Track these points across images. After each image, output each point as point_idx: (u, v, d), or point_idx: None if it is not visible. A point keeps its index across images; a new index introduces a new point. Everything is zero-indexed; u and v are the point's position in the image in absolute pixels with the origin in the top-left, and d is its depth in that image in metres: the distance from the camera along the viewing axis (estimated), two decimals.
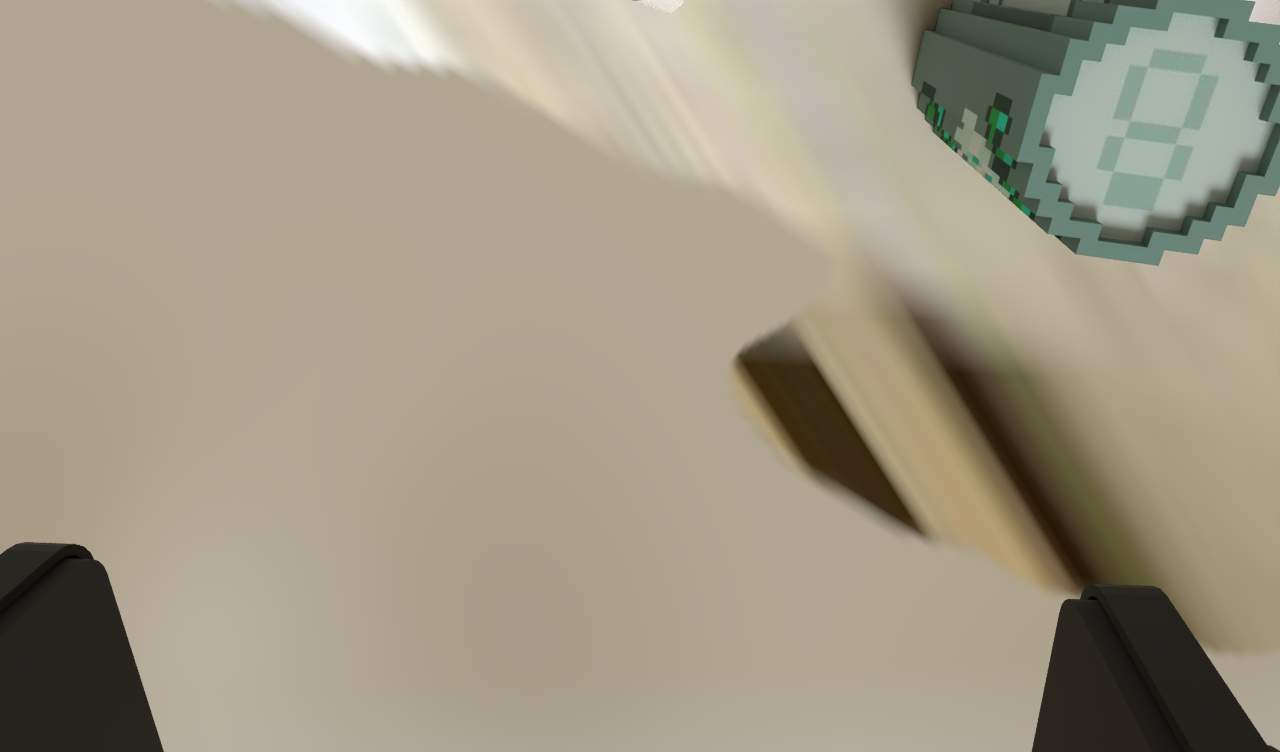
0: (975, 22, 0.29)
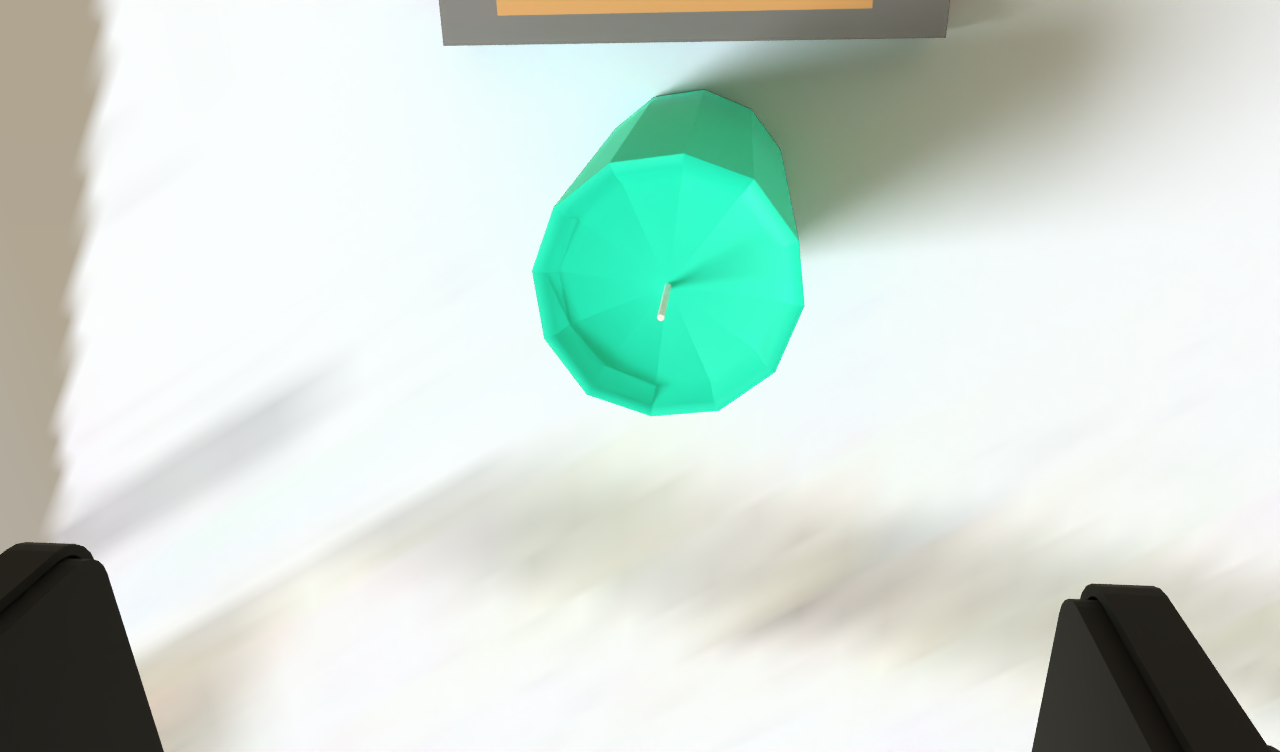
0: None
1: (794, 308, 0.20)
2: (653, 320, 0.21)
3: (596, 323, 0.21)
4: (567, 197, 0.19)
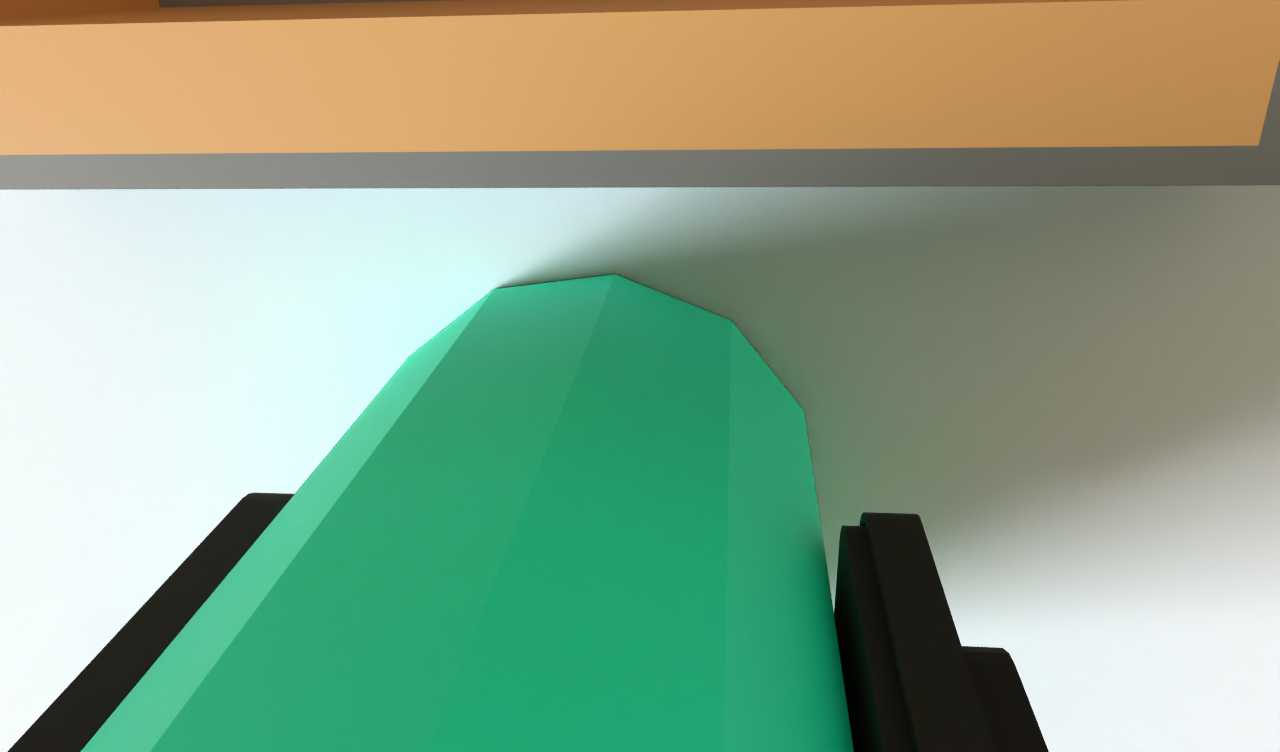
0: None
1: None
2: None
3: None
4: None
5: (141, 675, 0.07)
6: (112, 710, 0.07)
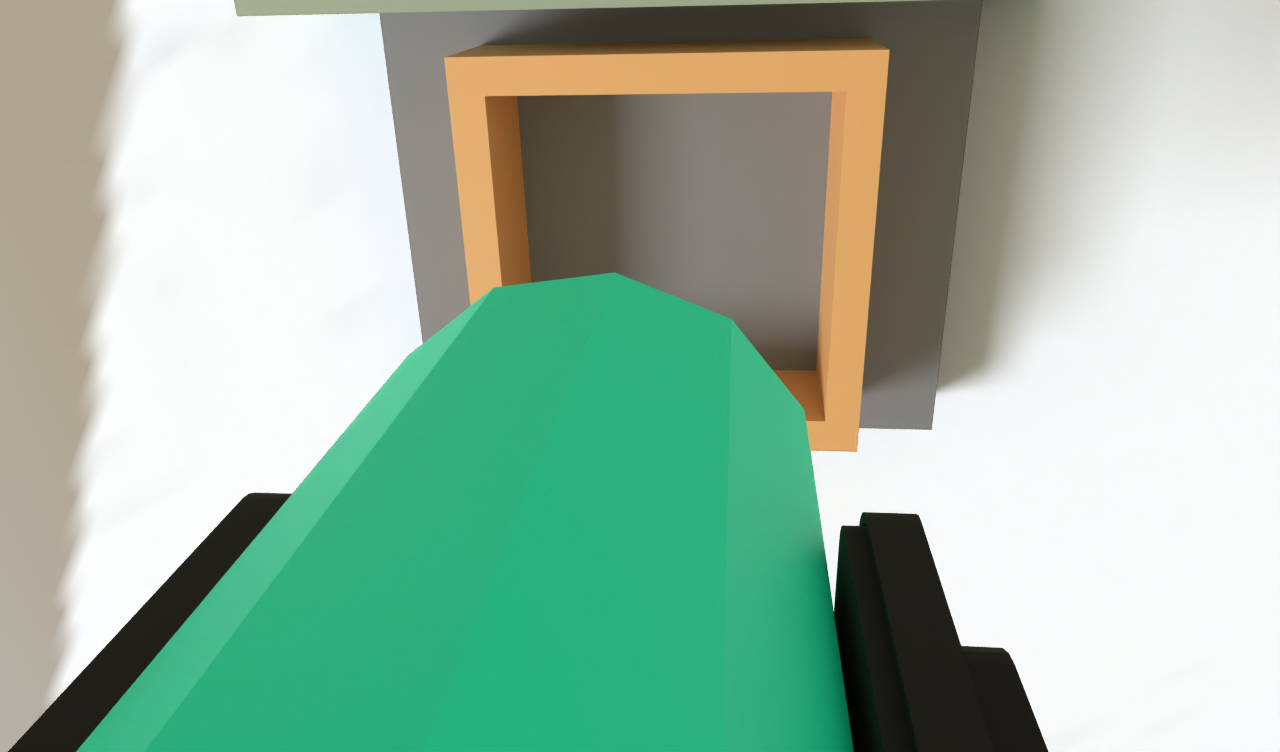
0: None
1: None
2: None
3: None
4: None
5: None
6: None
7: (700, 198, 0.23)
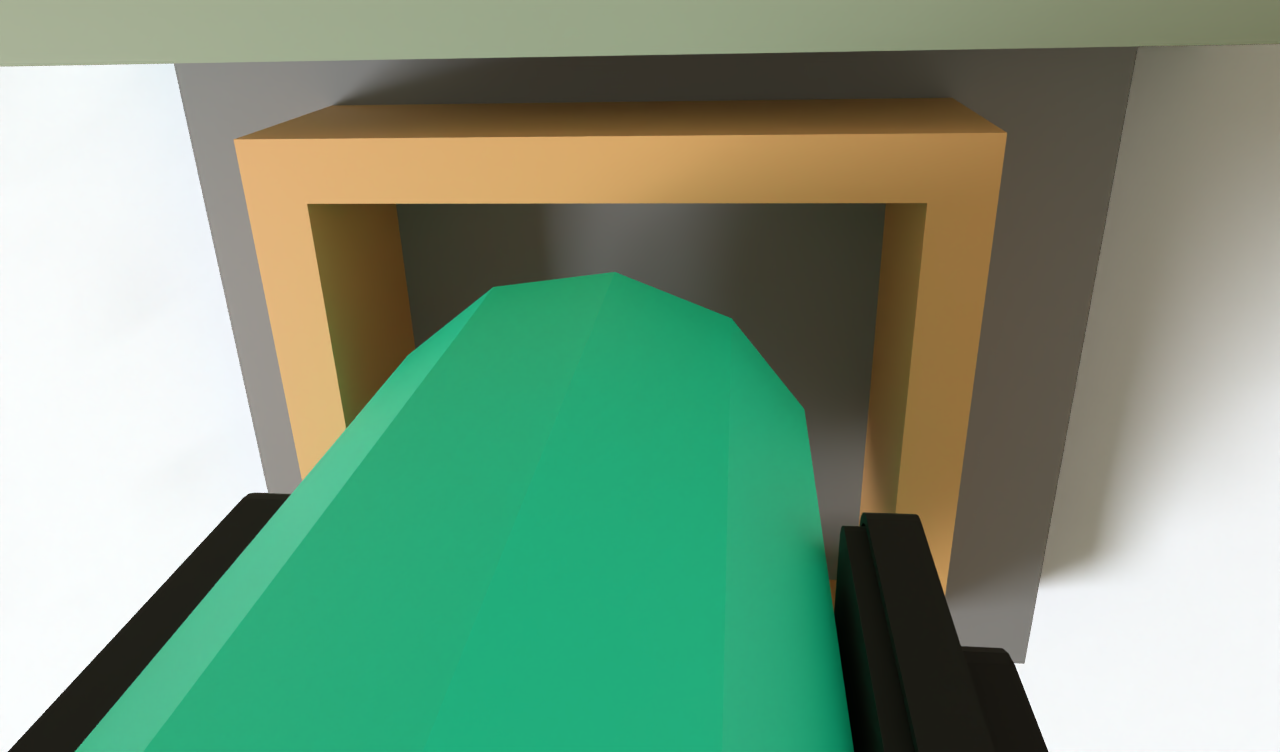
0: None
1: None
2: None
3: None
4: None
5: None
6: None
7: None
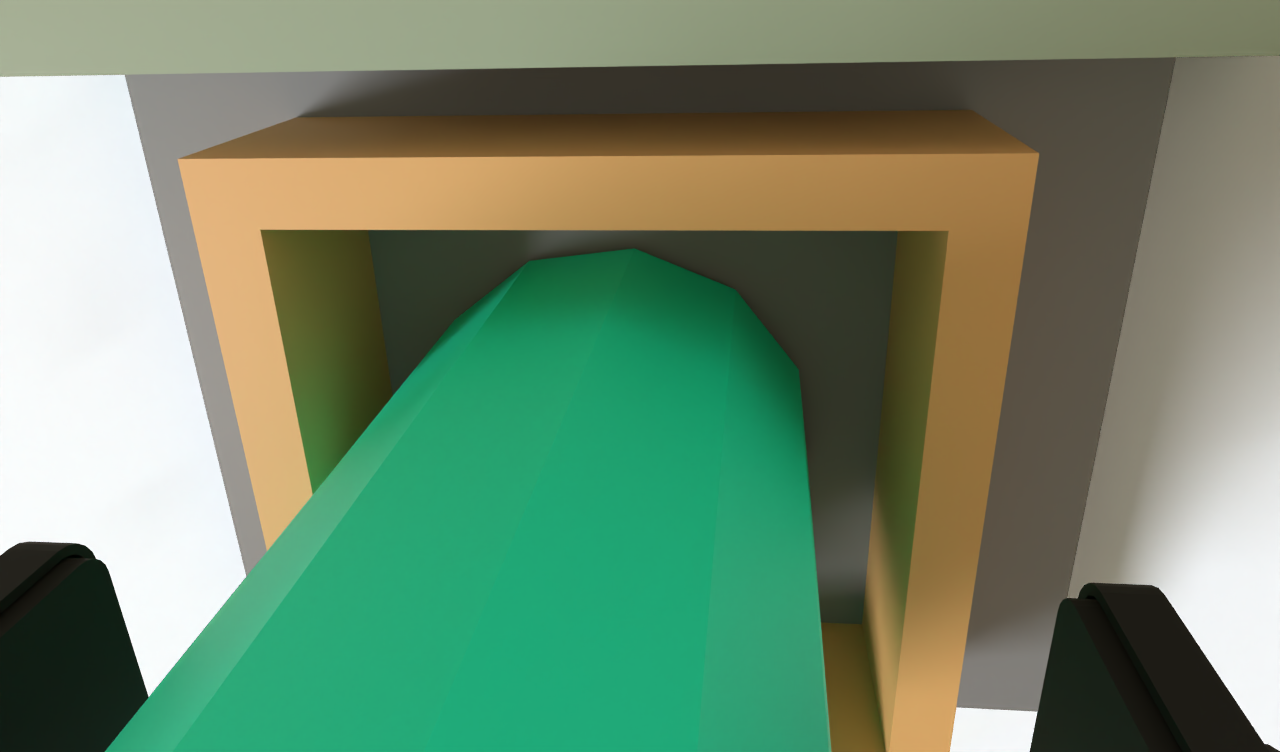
0: None
1: None
2: None
3: None
4: None
5: None
6: None
7: None
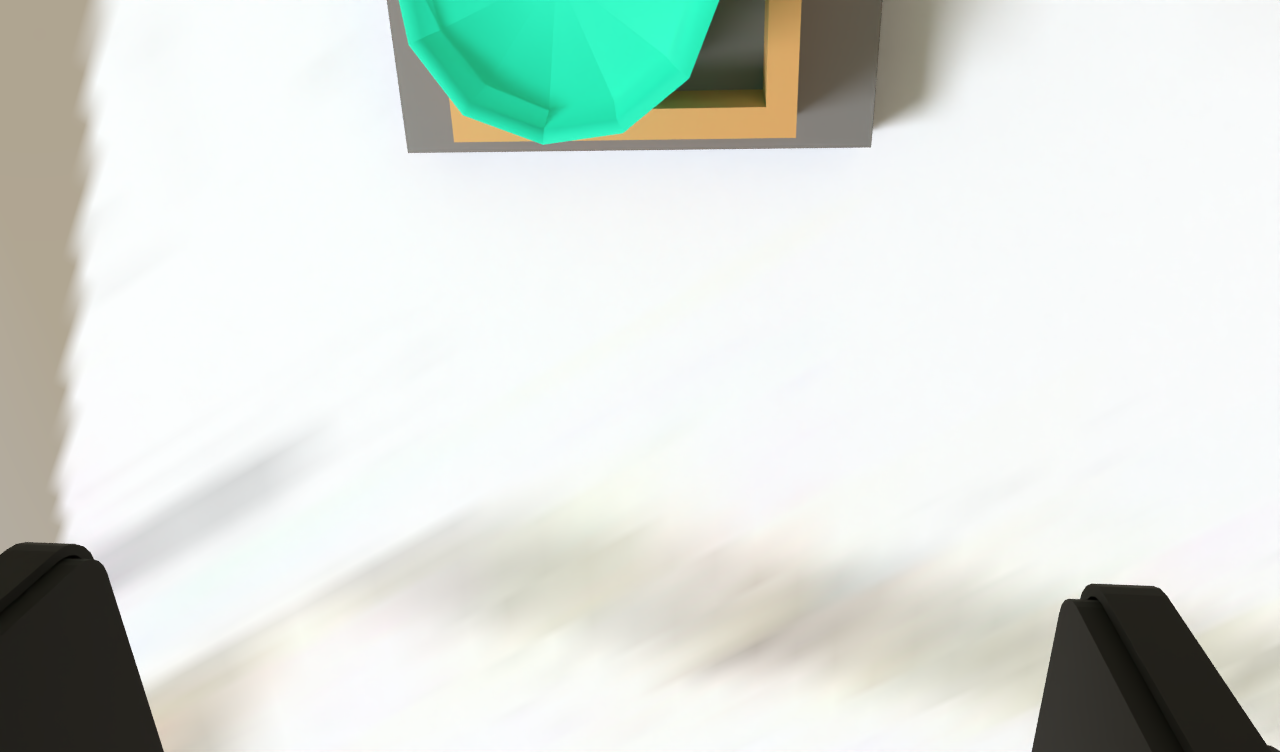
0: None
1: None
2: (540, 19, 0.17)
3: (471, 28, 0.17)
4: None
5: None
6: None
7: None
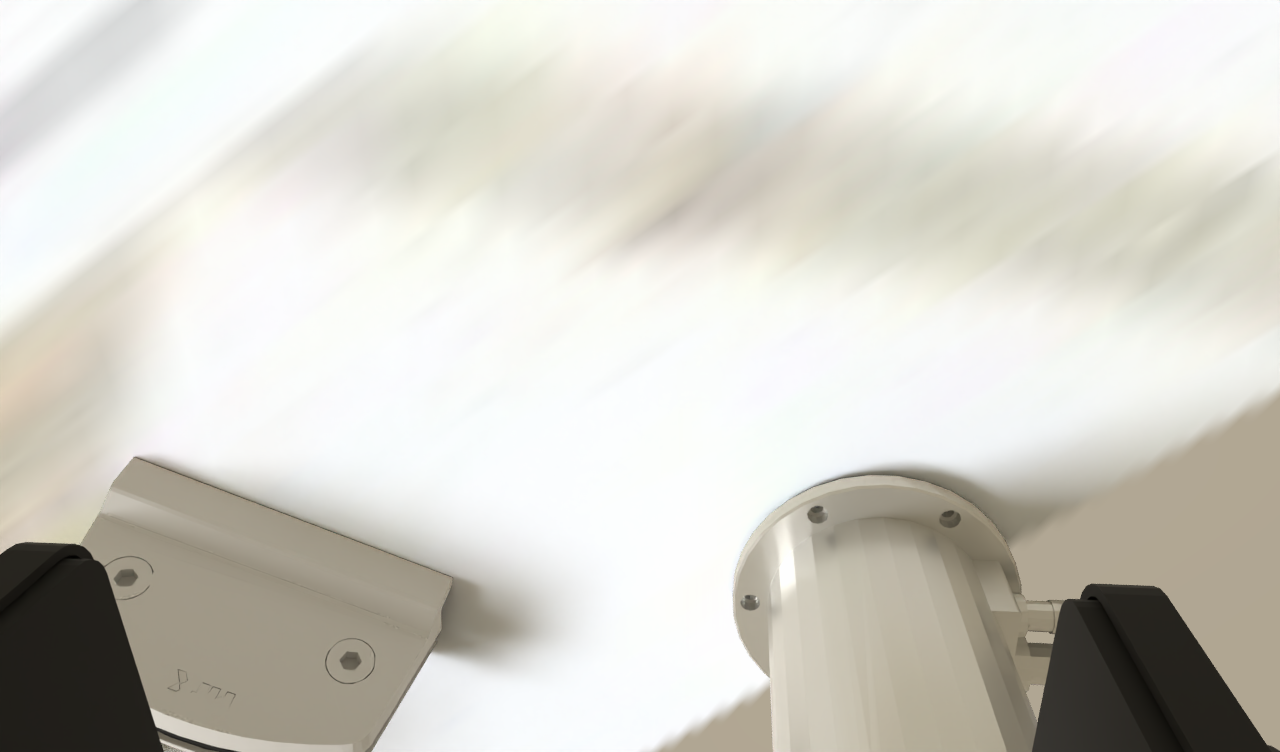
0: None
1: None
2: None
3: None
4: None
5: None
6: None
7: None
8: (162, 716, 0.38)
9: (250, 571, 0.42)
